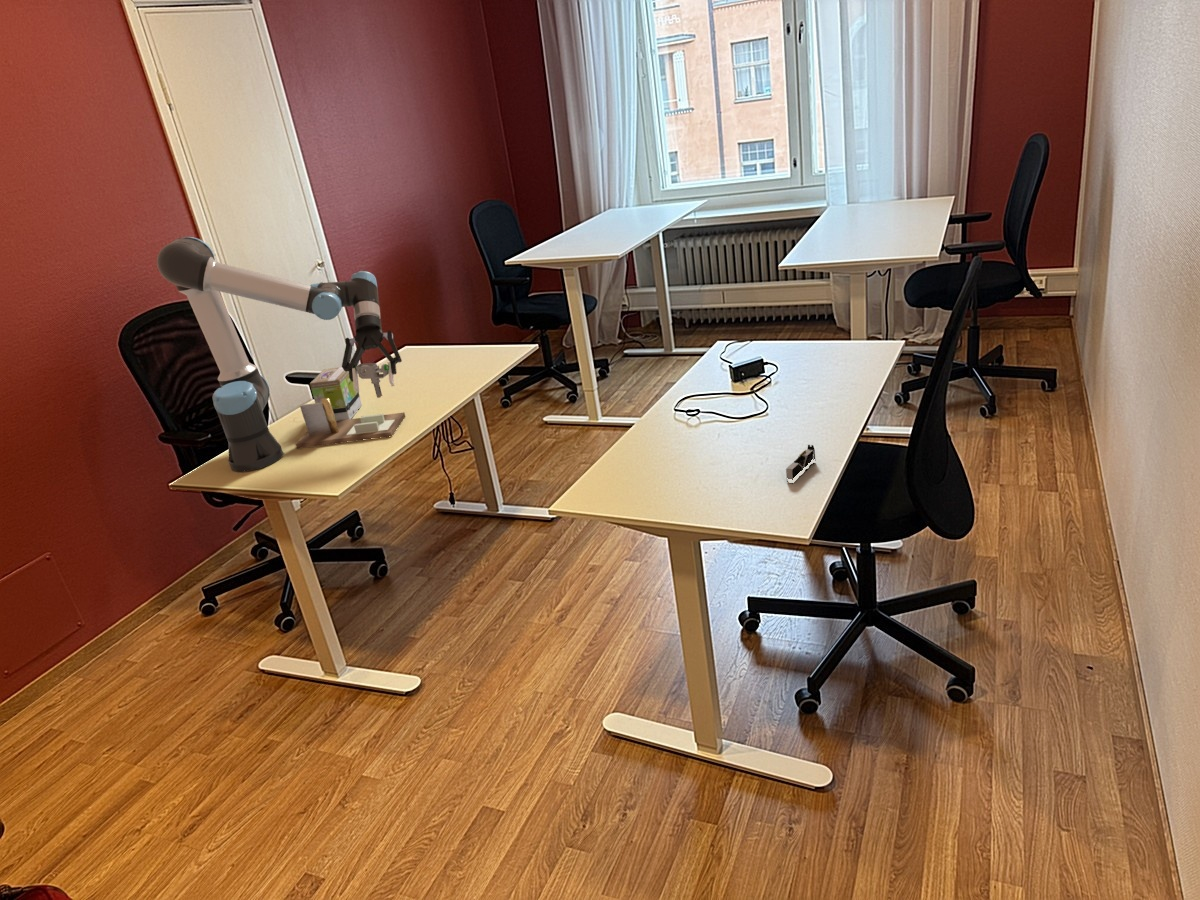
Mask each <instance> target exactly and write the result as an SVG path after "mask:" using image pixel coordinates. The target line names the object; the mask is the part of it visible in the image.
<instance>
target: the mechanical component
mask: <svg viewBox="0 0 1200 900" xmlns="http://www.w3.org/2000/svg"><path fill="white" fill-rule="evenodd" d="M355 370H356V371H357V373H358V378H360V379H361V380H367V379H368V380H370V381H371V385H373V387H374V391H375V396H376V398H377V399H380V398H381V397H382V396H383V393H382V390H381V385H380V383H381V379H384V378H385V377H386V376H389V373H388V370H389V365H388V364H387V363H383V364H381V368H380V366H379V365H377V363H376V362H369V363H368V362H367V363H358V365H357V366H355Z"/></svg>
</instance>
